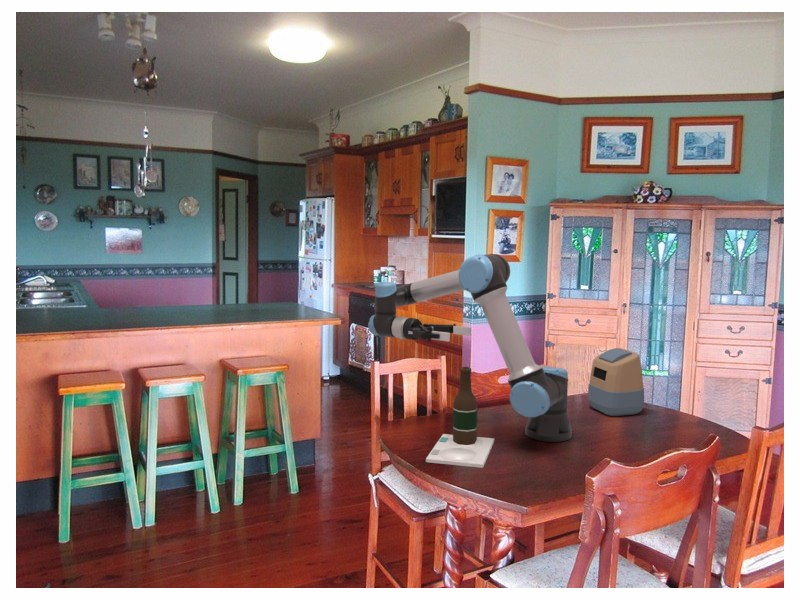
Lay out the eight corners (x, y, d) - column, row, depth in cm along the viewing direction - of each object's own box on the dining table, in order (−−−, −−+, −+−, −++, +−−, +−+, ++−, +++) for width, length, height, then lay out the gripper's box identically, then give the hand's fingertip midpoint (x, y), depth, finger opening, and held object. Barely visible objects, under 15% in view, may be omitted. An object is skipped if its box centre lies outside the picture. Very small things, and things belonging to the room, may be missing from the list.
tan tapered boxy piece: (583, 406, 250) (585, 347, 247) (621, 403, 254) (623, 345, 252) (608, 418, 234) (610, 356, 231) (648, 415, 238) (650, 353, 236)
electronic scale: (494, 441, 209) (494, 437, 209) (482, 467, 186) (483, 463, 186) (443, 436, 214) (443, 433, 214) (425, 462, 191) (425, 458, 191)
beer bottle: (450, 437, 209) (451, 365, 207) (474, 437, 210) (475, 364, 207) (454, 445, 202) (455, 370, 199) (479, 445, 202) (480, 370, 200)
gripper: (427, 334, 236) (478, 340, 224) (386, 344, 216) (439, 351, 204) (427, 313, 235) (478, 318, 223) (386, 322, 215) (439, 327, 203)
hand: (460, 334), depth 213 cm, fingers open, 13 cm apart
